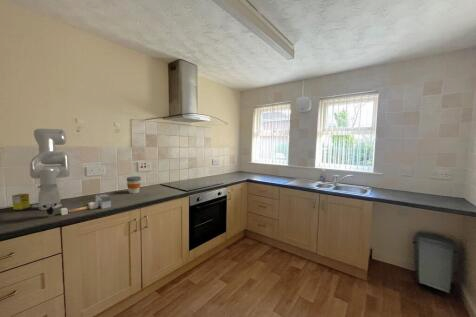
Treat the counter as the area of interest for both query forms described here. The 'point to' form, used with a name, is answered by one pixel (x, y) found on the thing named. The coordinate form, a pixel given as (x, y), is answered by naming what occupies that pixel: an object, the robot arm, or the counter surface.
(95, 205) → the wooden dumbbell
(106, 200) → the housing
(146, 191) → the counter surface
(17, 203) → the supplement box
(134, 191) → the reusable coffee cup
